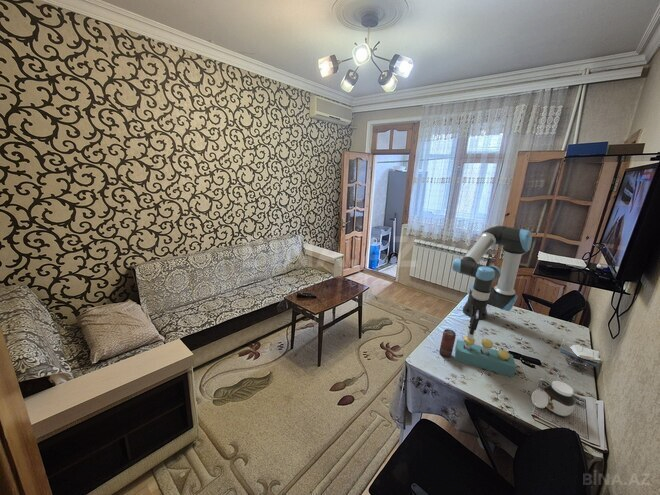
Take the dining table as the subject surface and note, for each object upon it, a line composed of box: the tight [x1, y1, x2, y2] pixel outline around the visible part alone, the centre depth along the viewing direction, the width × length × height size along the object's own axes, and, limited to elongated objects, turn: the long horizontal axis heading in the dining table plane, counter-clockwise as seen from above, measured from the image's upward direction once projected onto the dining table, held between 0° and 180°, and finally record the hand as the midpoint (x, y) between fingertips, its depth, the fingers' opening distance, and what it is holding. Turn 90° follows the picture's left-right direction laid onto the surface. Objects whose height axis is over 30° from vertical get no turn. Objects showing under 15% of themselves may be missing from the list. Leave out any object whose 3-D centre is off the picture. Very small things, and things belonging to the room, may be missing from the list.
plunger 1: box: [463, 335, 476, 350], centre depth 140 cm, size 5×5×8 cm
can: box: [438, 328, 457, 359], centre depth 141 cm, size 6×6×14 cm
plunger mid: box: [481, 338, 494, 355], centre depth 136 cm, size 5×5×8 cm
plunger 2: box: [497, 349, 511, 361], centre depth 134 cm, size 5×5×8 cm
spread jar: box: [530, 380, 576, 417], centre depth 112 cm, size 12×11×12 cm
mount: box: [454, 339, 517, 378], centre depth 138 cm, size 10×26×6 cm, turn 65°
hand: (469, 338), depth 138 cm, fingers closed
